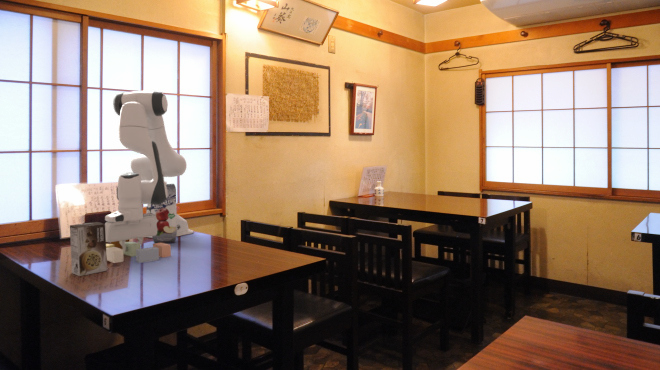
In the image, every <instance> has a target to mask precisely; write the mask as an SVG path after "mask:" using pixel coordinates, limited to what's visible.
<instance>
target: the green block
mask: <svg viewBox="0 0 660 370" xmlns="http://www.w3.org/2000/svg"><path fill="white" fill-rule="evenodd" d="M124 244H125V246H127V247H128V251H126V252H124V251H123V255H125V256H129V257H131V258H132V257H136V249H140V244H139V243H138V242H136V241H129V242H125V243H124Z"/></svg>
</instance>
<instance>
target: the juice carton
mask: <svg viewBox="0 0 660 370" xmlns="http://www.w3.org/2000/svg"><path fill="white" fill-rule="evenodd" d="M165 184H166V187H167V191H168V195H167V199H166V200H165V201H164V202H163V203H162V204H160V205H155V204H151V213H153V214H155V216H156V225H157V234H156V236H152V238H151V239H152V240H153V241H152V242H153V244H155V243H165V244H172V243H175V242H176V239H177V236H176V235H177V214H178V213H177V212H178V211H177V209H176V206H177V188H176V185H175V184H174V183H167V181H165Z"/></svg>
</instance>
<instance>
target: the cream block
mask: <svg viewBox="0 0 660 370" xmlns="http://www.w3.org/2000/svg"><path fill="white" fill-rule="evenodd" d="M106 254H107V262H110V263H113V264H116V263H122V262H124V254H123V249H120V248H117V247H111V248H106Z"/></svg>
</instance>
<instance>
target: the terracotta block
mask: <svg viewBox="0 0 660 370" xmlns="http://www.w3.org/2000/svg"><path fill="white" fill-rule="evenodd" d="M152 247H156V248H159V258H167V257H172V252H171V251H172V250H171V249H172V248H171V244H170V243H152Z"/></svg>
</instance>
